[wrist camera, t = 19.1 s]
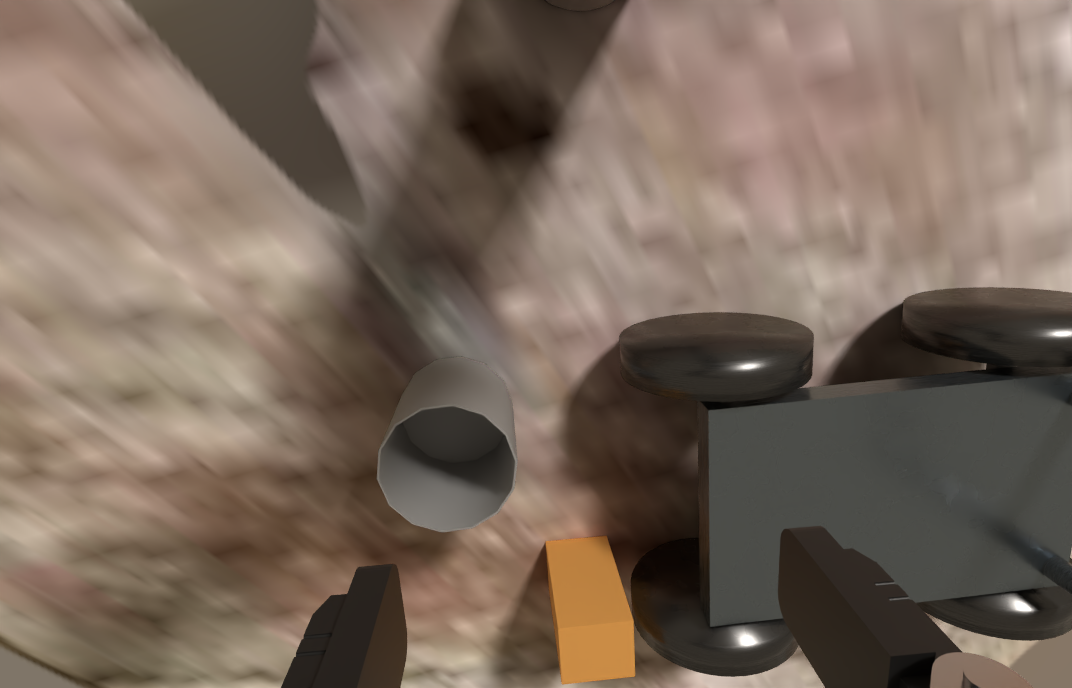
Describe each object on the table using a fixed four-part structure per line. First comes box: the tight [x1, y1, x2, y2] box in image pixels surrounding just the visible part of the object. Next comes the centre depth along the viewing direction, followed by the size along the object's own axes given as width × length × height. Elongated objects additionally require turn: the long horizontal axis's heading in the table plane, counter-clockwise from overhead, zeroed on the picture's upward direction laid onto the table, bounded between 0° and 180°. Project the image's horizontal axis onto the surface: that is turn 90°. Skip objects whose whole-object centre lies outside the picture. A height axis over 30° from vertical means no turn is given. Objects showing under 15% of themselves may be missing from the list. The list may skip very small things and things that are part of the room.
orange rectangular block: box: [546, 536, 635, 684], centre depth 46 cm, size 5×4×10 cm
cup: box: [377, 356, 517, 532], centre depth 42 cm, size 8×8×10 cm
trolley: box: [619, 287, 1072, 677], centre depth 35 cm, size 32×21×29 cm
